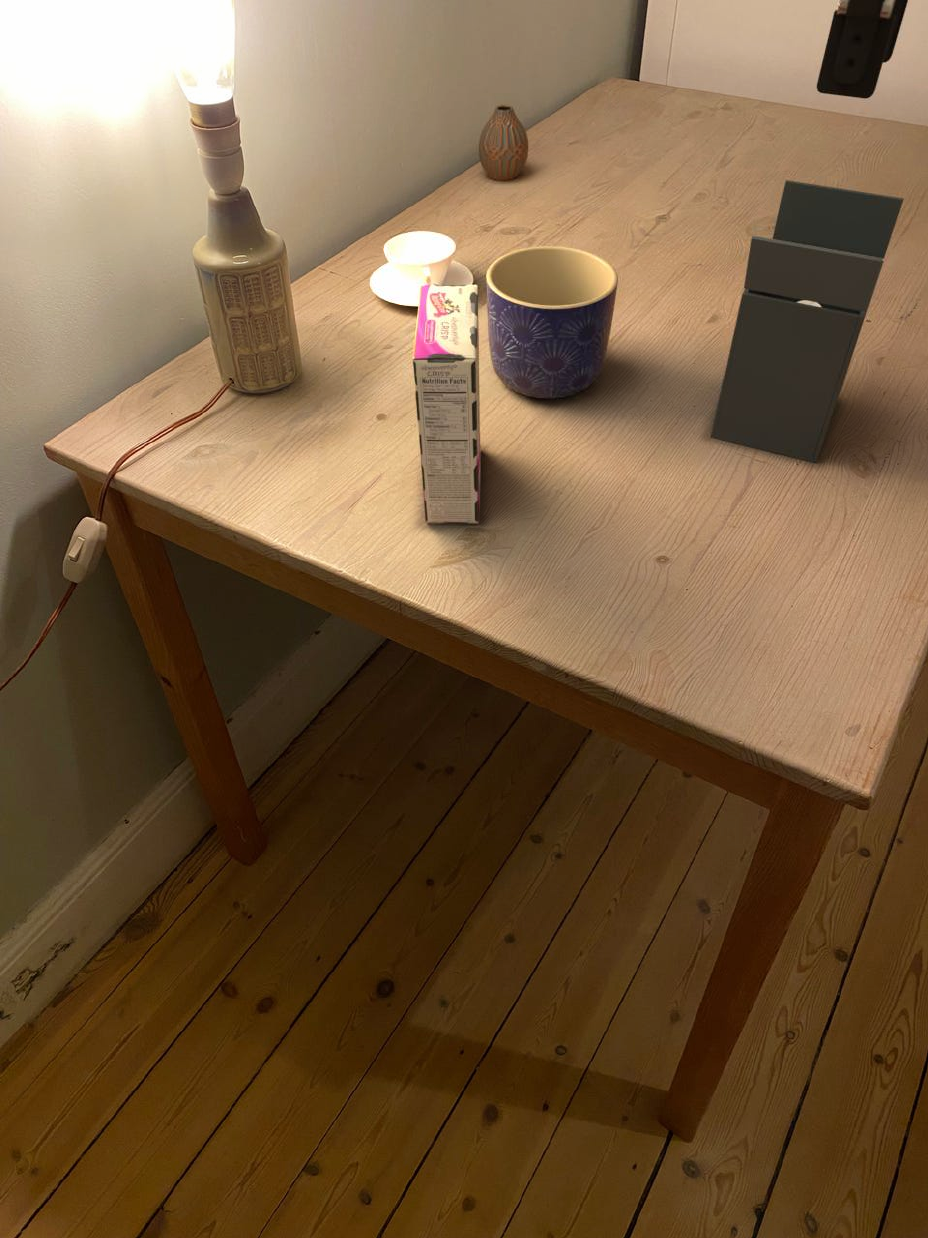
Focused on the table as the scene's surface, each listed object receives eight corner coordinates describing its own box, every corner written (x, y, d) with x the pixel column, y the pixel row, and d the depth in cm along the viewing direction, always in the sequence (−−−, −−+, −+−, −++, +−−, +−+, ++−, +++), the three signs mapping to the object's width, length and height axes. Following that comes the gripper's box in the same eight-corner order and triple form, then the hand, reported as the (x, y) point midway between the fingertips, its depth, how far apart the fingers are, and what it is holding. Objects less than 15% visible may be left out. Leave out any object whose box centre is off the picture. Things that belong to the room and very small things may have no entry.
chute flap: (866, 309, 72) (865, 311, 72) (744, 285, 75) (743, 288, 75) (882, 258, 68) (881, 261, 68) (752, 235, 71) (751, 238, 70)
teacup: (390, 325, 101) (386, 279, 97) (357, 278, 109) (353, 234, 105) (489, 304, 104) (489, 259, 100) (451, 259, 112) (450, 216, 108)
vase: (491, 162, 133) (492, 95, 126) (535, 169, 130) (537, 102, 124) (470, 179, 129) (469, 111, 122) (515, 187, 126) (516, 119, 120)
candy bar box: (427, 448, 86) (418, 282, 74) (481, 448, 86) (480, 281, 74) (421, 526, 78) (410, 355, 66) (479, 526, 78) (479, 355, 66)
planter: (523, 424, 88) (527, 320, 80) (465, 363, 96) (463, 262, 88) (630, 390, 92) (644, 287, 84) (566, 334, 99) (573, 234, 91)
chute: (816, 463, 83) (885, 253, 69) (710, 437, 86) (755, 231, 72) (838, 398, 90) (905, 196, 76) (739, 376, 93) (786, 177, 79)
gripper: (1053, -361, 36) (899, 133, 49) (1064, -363, 46) (935, 43, 59) (854, -357, 38) (758, 114, 51) (908, -360, 48) (817, 30, 62)
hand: (854, 72), depth 55 cm, fingers open, 6 cm apart
